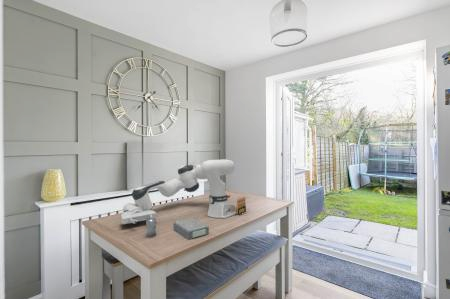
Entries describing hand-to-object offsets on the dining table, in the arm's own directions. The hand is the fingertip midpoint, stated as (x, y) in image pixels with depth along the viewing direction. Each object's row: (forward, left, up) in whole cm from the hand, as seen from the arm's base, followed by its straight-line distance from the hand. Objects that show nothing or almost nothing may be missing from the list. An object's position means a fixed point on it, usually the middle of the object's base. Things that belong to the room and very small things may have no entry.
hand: (143, 220), depth 136 cm
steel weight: (0, +12, -5) cm, 13 cm away
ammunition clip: (-66, +12, -5) cm, 67 cm away
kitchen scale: (-20, +20, -5) cm, 29 cm away
